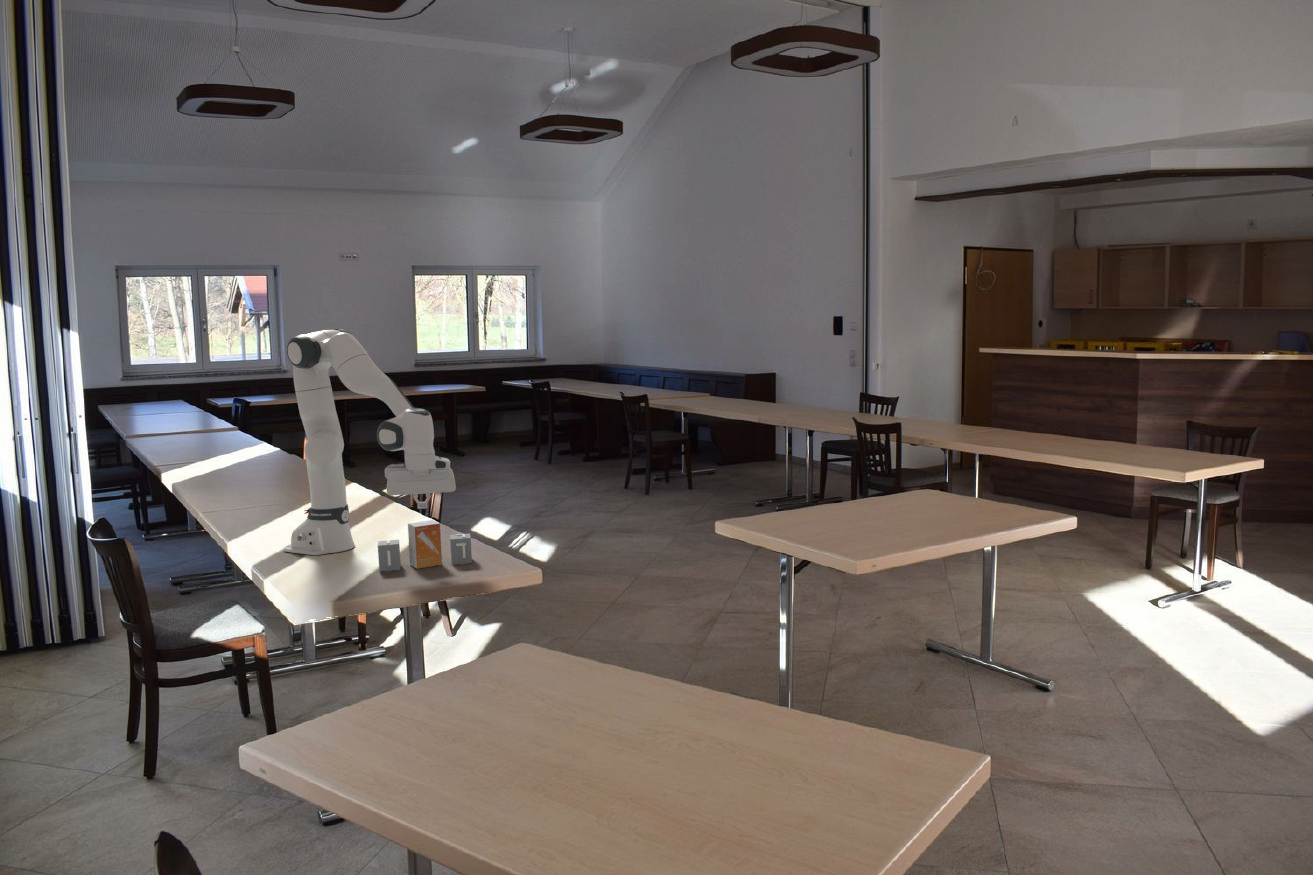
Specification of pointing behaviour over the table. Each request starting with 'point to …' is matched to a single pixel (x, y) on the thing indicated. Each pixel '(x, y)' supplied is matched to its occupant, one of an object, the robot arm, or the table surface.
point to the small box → (424, 544)
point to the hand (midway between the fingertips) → (422, 508)
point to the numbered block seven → (460, 548)
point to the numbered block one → (389, 555)
